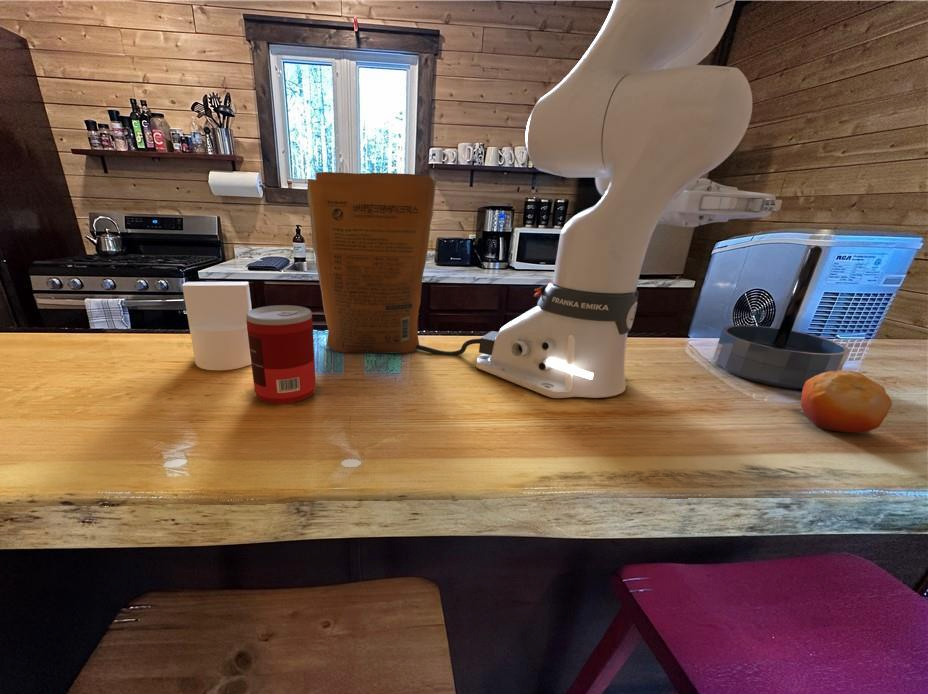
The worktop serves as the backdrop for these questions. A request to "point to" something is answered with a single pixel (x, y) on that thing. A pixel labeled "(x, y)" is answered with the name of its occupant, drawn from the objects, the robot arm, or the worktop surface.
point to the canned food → (282, 353)
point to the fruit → (844, 402)
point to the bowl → (777, 355)
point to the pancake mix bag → (371, 256)
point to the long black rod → (797, 296)
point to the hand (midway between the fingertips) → (755, 204)
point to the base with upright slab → (218, 323)
